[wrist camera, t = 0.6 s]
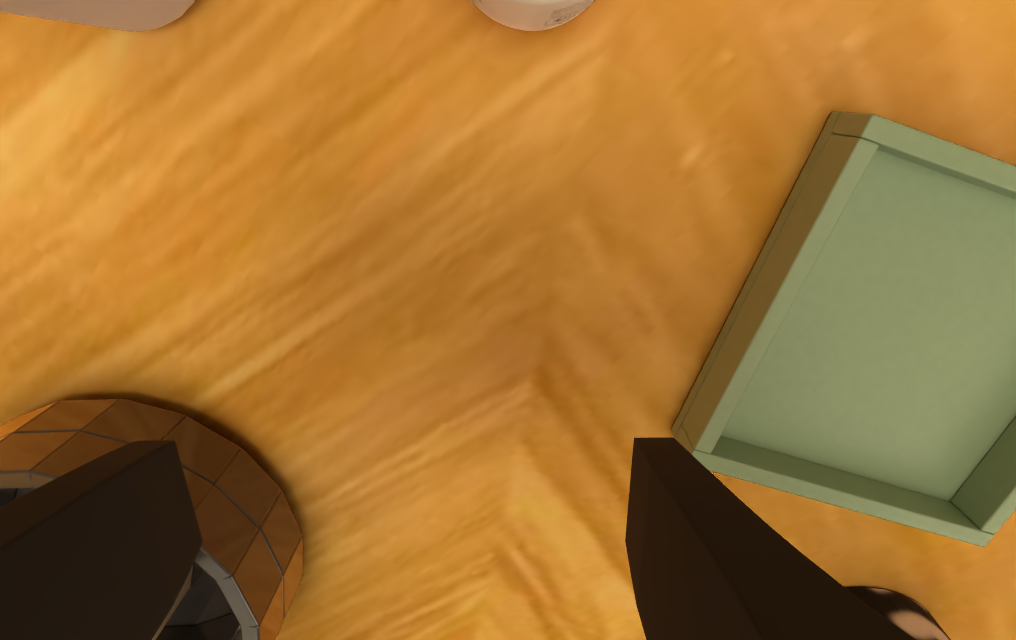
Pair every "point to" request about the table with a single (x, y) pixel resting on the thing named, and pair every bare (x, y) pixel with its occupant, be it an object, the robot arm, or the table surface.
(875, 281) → the tray
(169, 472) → the robot arm
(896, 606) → the white-spotted black cylinder
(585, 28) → the table surface
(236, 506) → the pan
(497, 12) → the pill bottle
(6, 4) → the beverage can
